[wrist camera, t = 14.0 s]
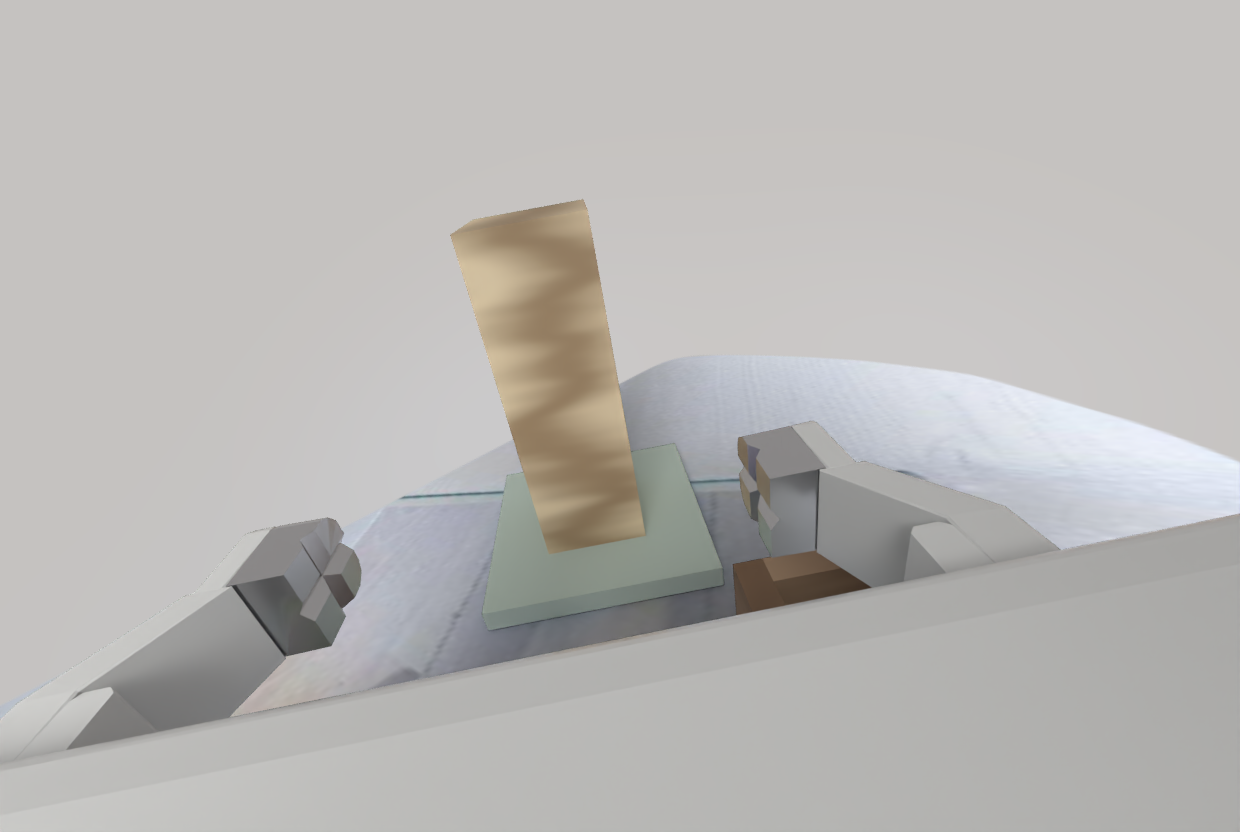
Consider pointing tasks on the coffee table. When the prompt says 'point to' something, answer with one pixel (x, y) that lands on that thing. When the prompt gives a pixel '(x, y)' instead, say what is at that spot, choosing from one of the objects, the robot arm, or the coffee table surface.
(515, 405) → the oak block
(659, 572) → the pad
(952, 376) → the coffee table surface
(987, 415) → the coffee table surface
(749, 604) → the pocket
